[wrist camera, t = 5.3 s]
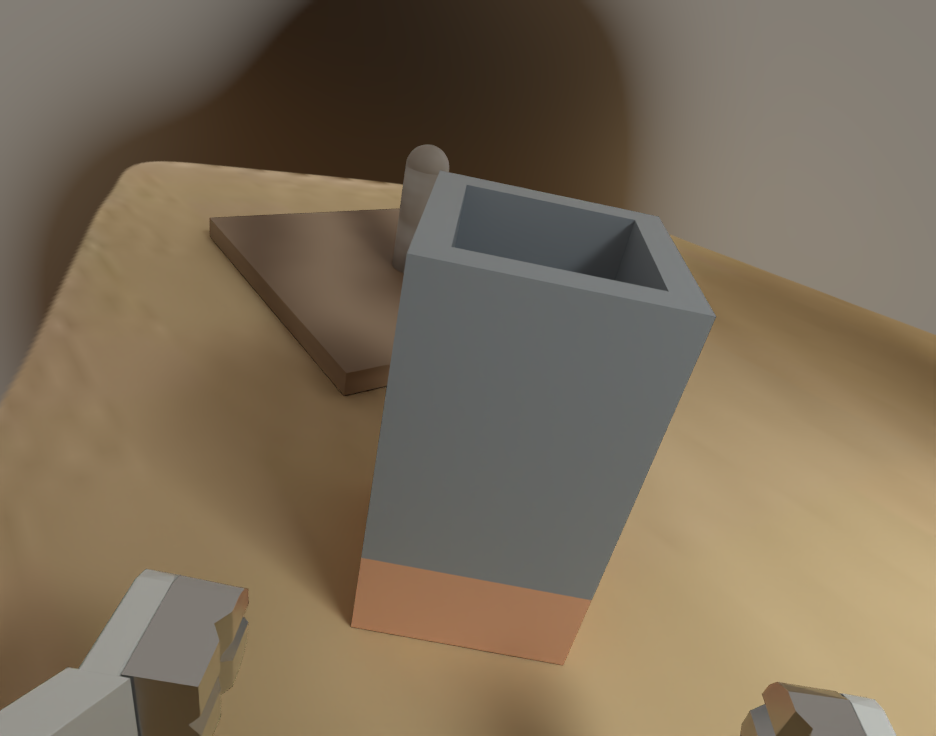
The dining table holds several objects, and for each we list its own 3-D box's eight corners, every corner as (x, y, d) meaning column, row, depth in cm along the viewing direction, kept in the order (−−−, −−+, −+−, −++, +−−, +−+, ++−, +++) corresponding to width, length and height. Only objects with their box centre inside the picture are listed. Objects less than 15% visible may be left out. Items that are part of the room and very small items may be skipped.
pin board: (446, 221, 42) (466, 108, 39) (612, 333, 33) (660, 199, 29) (209, 236, 34) (207, 93, 30) (343, 395, 24) (363, 215, 21)
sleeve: (553, 513, 21) (658, 216, 16) (563, 665, 16) (715, 316, 11) (388, 481, 21) (439, 170, 16) (350, 626, 16) (406, 253, 11)
